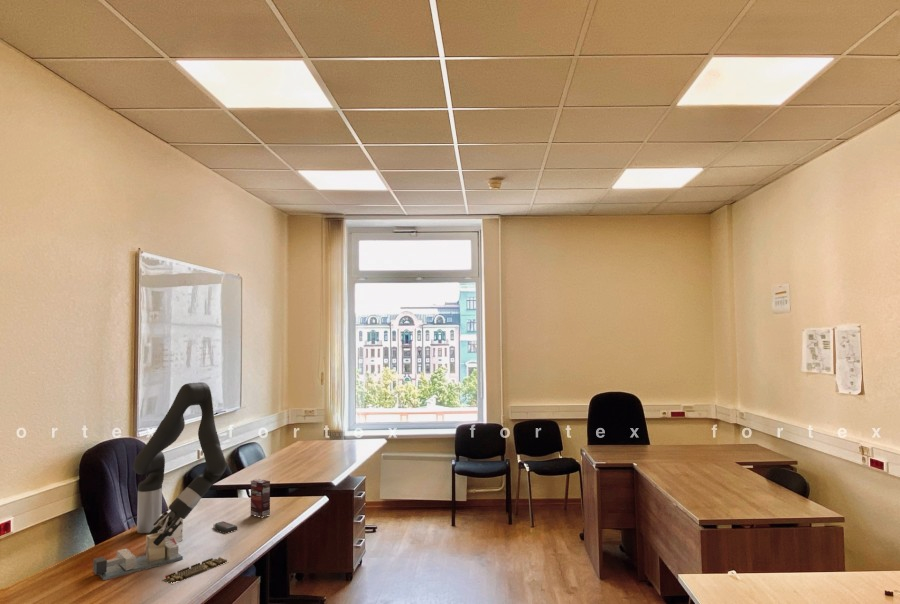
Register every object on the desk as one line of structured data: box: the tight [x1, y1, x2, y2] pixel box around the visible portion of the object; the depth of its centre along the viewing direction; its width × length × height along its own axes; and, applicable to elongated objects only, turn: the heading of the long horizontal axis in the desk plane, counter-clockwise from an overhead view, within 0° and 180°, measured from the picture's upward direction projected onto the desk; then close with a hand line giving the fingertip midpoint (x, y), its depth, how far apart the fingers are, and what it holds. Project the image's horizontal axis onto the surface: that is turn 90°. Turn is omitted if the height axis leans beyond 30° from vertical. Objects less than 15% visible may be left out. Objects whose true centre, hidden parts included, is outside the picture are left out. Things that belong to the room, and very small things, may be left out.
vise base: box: [98, 539, 184, 581], centre depth 196 cm, size 12×25×5 cm, turn 134°
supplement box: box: [250, 478, 271, 517], centre depth 253 cm, size 9×5×16 cm, turn 55°
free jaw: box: [92, 548, 136, 576], centre depth 191 cm, size 12×11×4 cm
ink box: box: [158, 510, 184, 544], centre depth 218 cm, size 9×5×12 cm, turn 168°
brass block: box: [145, 532, 165, 561], centre depth 200 cm, size 5×5×8 cm
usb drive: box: [213, 520, 238, 534], centre depth 234 cm, size 5×12×3 cm, turn 52°
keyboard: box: [161, 556, 228, 584], centre depth 190 cm, size 22×9×2 cm, turn 148°
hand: (151, 541), depth 199 cm, fingers open, 8 cm apart
